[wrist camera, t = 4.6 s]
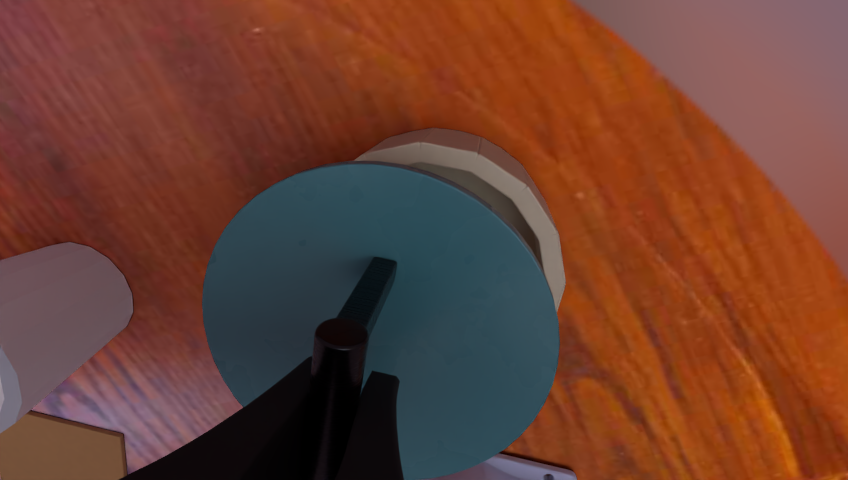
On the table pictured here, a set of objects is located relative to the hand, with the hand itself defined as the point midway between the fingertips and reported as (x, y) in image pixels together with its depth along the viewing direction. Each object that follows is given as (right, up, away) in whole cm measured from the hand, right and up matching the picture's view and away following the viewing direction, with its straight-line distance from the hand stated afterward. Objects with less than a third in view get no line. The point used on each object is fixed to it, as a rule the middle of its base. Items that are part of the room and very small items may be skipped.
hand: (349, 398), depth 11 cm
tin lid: (0, +1, +3) cm, 3 cm away
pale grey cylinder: (-16, +1, +13) cm, 21 cm away
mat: (-21, -10, +18) cm, 30 cm away
